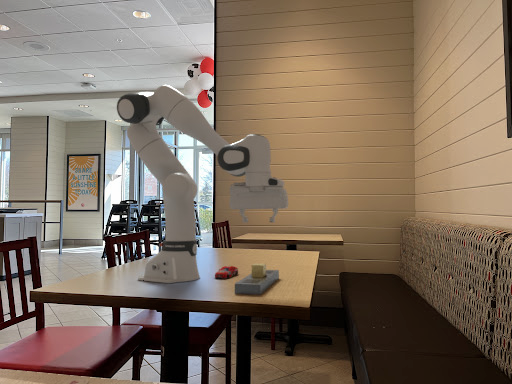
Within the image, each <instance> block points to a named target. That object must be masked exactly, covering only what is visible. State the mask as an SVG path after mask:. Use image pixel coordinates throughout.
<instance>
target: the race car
mask: <svg viewBox="0 0 512 384" xmlns="http://www.w3.org/2000/svg"><path fill="white" fill-rule="evenodd" d="M237 275H239V269H238V267H236V266H234V265H224V266H222V267H221V268H220V269H218V271H217V272H215V274H214V278H215V279H225V280H229V278H232V277H235V276H237Z"/></svg>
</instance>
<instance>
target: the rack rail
mask: <svg viewBox="0 0 512 384" xmlns="http://www.w3.org/2000/svg"><path fill="white" fill-rule="evenodd" d="M279 279H280V270H278V269H266V277H265V278H255V277H252V272H251V273H250V274H248V275H247V276H245V277H243V278H242V279H240V280H238V281H237V282H235V283H234V294H236V295H253V296H260V295H262V294H263V293H265V292H266V290H268V288H270V287H271V286H272V285H274V283H276V282H277V281H278V280H279Z"/></svg>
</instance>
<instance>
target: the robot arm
mask: <svg viewBox="0 0 512 384" xmlns="http://www.w3.org/2000/svg"><path fill="white" fill-rule="evenodd" d="M116 111H117V114H118V117H119V118H120V119H121V120H122V121H123V122H125V123H127V124H130V125H129V127H128V128H127V129H126V135H127V138H128V140H129V143H130V144H131V146H132V148H133V150H134V151H135V153H136V154H137V156H138V157H139V158H140V160H141V161H142V162H143V164H144V165H145V167H146V168H147V169H148V171H149V173H150V174H151V175H152V176H153V177H154V178H155V180H156V181H158V183H159V184H160V186H161V187H162V198H163V209H164V217H165V240H164V241H162V242H160V243H158V244H159V246H158V247H161V249H160V250H159V252H158V253H157V254H155V255H154V256H152V257H151V258H150V259H149V260H148V261H147V262H146V264H145V267H144V273H143V274H141V275H139V276H138V277H137V279H138V281H143V280H144V281H145V282H153V283H164V284H174V283H179V282H180V283H181V282H189V281H190V282H191V281H195V280H199V279H200V278H201V276H200V273H199V268H198V263H197V255H198V254H197V252H198V245H197V243H198V241H197V239H196V232H197V231H196V229H197V228H196V223H197V220H196V219H197V218H196V212H195V198H196V197H197V194H198V186H197V185H198V184H197V182H196V181H195V180H194V179H193V177H192V176H191V175H190V173H189V172H188V171H187V169H186V168H185V166H184V165H183V164H182V163H181V162H180V160H179V159H178V158H177V156H176V155H175V154H174V152H173V151H172V149H171V148H170V147H169V145H168V144H167V143H166V140H164V139H163V137H162V136H161V135H160V133H159V132H158V129H157V126H160V125H161V124H162V123H163V121H164V120H165V121H166V122H167V123H168V124H170V125H171V126H172V127H173V128H175V130H177V131H179V132H181V133H182V134H184V135H187V136H188V137H190V138H192V139H194V140H197V141H199V142H200V143H202V144H203V145H204V146H205V147H207V148H208V149H209V150H211V152H212V153H214V154H215V155H216V156H217V157H216V159H217V163H218V165H219V167H220V169H222V170H224V171H225V172H227V173H228V174H230V176H233V177H237V178H238V177H245V181H244V182H243V181H242V182H233V183H232V184H231V185H230V186H229V195H230V196H229V205H228V206H229V208H230V209H231V210H239V215H240V216H241V218H242V223H244V224H246V223H248V222H249V216H246V214H245V212H246V210H264V209H265V210H266V209H267V210H270V209H271V210H272V216H270V217H269V223H275V222H276V216H277V215H278V213H279V210H280V209H287V208H288V207H289V197H288V191H287V189H286V188H285V181H284V180H283V179H279V178H277V177H274V176H273V177H272V170H271V162H272V161H271V160H272V158H271V157H272V155H271V153H272V152H271V151H272V150H271V145H270V144H271V143H270V141H269V139H268V138H267V137H265V136H264V135H260V134H255V133H253V134H252V133H251V134H250V133H249V134H247V135H246V136H245V137H244V138H242V139H241V140H239V141H236V142H234V143H231V144H230V143H229V142H228V141H226V140H225V139H224V138H223V137H222V136H221V135H220V134H219V133H218V132H217V131H216V130H215V129H214V128H213V127H212V125H211V124H210V122H209V121H208V120H207V117H205V115H204V114H203V113H202V111H201V110H200V108H198V107H197V105H196V104H195V103H194V102H193V101H192V100H191V99H190V98H188V96H186V95H185V94H183V93H182V92H181V91H180V90H178V89H177V88H174V87H172V86H171V85H169V84H168V85H167V84H164V85H160V86H158V87H157V88H156V89H155V90H154V91H139V92H129V93H126V94H124V95H122V96H120V97H119V99H118V100H117V103H116Z"/></svg>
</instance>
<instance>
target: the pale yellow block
mask: <svg viewBox="0 0 512 384" xmlns="http://www.w3.org/2000/svg"><path fill="white" fill-rule="evenodd" d="M266 270H267V264H266V263H253V264H252V265H251V273H252V277H255V278H265V277H266Z"/></svg>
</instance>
